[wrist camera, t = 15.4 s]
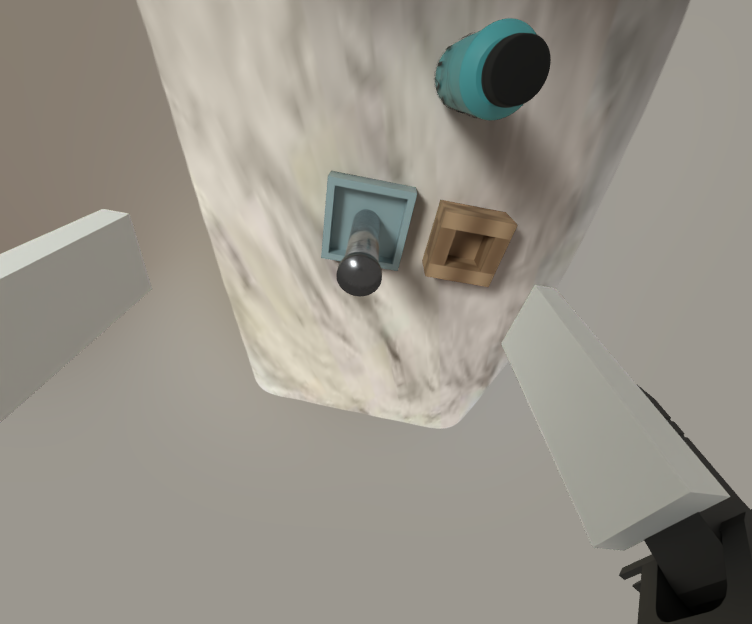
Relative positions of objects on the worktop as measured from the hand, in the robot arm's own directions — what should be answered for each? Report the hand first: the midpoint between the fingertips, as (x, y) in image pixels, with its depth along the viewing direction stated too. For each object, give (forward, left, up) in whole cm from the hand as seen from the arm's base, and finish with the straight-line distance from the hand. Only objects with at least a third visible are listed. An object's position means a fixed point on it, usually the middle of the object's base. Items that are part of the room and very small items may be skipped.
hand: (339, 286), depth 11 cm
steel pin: (+1, -11, -36) cm, 37 cm away
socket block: (+16, -11, -37) cm, 42 cm away
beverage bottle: (+9, +8, -37) cm, 39 cm away
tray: (+1, -11, -37) cm, 38 cm away
